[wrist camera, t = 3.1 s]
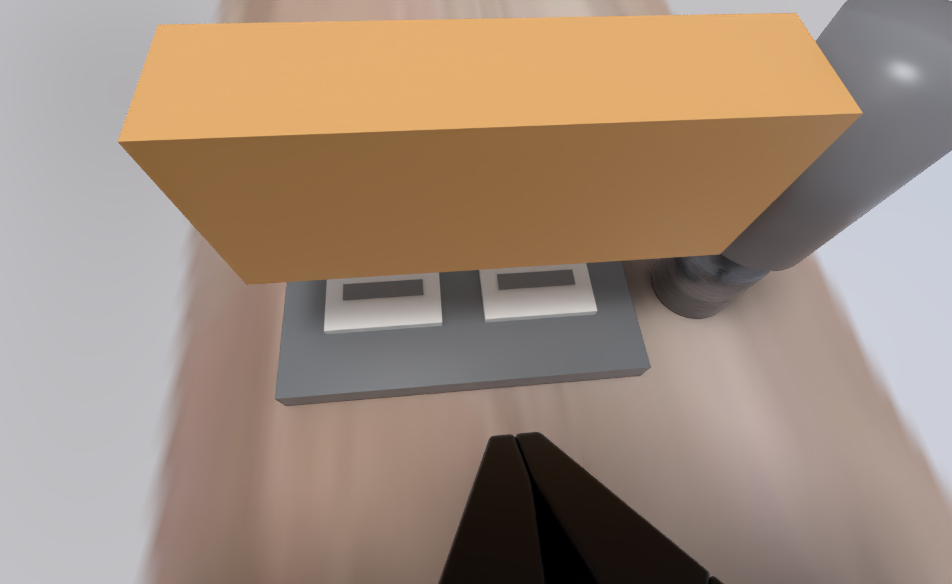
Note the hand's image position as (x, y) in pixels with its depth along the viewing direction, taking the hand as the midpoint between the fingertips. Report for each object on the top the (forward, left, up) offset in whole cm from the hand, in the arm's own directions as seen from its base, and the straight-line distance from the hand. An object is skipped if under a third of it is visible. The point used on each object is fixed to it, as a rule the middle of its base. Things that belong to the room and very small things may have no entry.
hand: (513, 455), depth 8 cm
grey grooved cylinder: (+11, +1, -8) cm, 13 cm away
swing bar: (+5, +5, -3) cm, 8 cm away
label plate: (+3, +6, -8) cm, 10 cm away
